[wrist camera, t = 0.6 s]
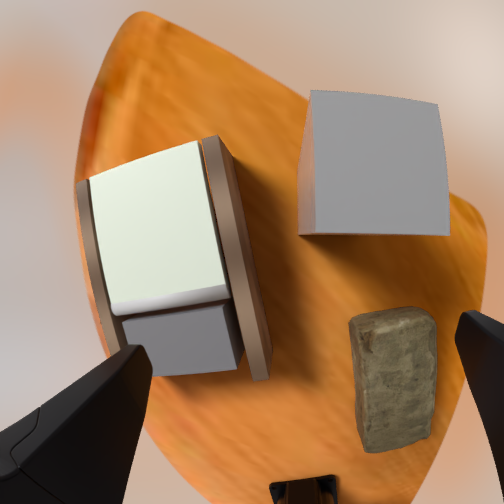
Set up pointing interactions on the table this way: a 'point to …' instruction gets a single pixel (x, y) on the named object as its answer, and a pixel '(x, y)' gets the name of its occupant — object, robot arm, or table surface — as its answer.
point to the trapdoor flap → (167, 261)
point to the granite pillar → (372, 167)
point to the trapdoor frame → (234, 251)
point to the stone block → (394, 376)
